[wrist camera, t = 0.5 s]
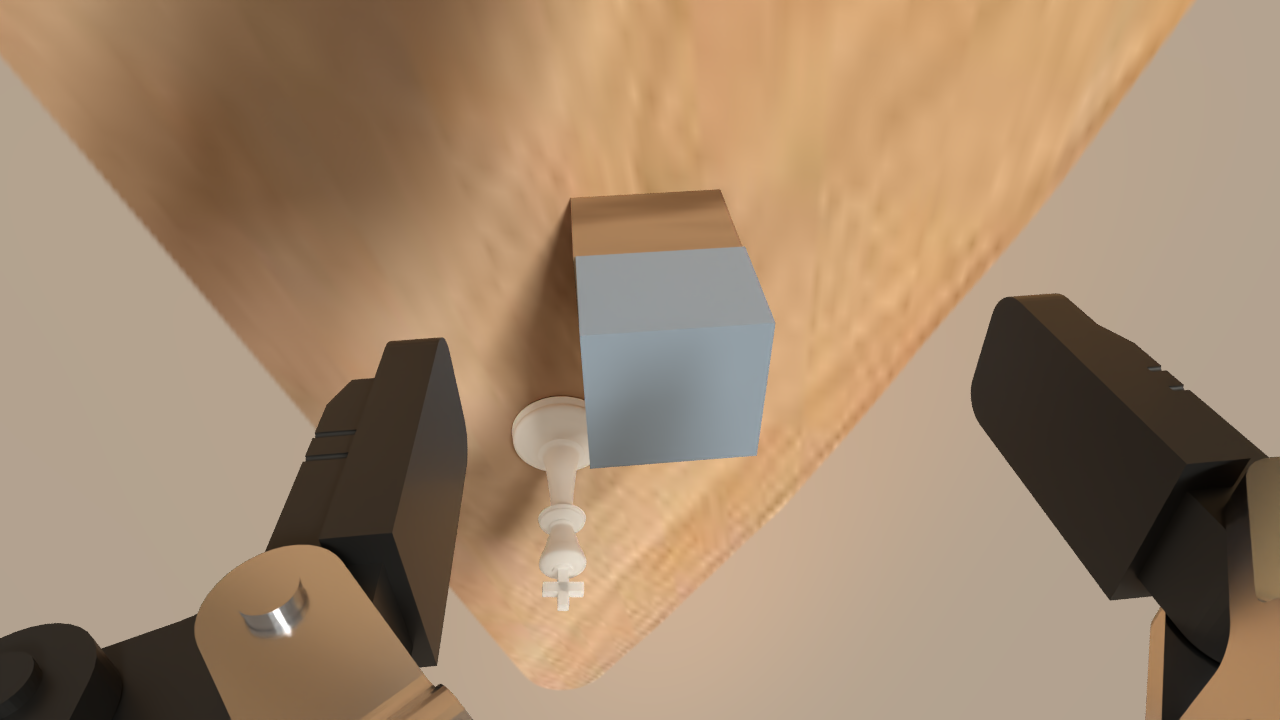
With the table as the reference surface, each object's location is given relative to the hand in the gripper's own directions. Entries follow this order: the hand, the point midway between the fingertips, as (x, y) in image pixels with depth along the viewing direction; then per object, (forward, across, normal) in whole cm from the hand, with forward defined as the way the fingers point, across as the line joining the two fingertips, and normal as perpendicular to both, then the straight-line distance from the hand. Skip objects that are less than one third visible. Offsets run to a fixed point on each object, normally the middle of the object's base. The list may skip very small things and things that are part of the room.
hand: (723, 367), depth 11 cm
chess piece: (+20, +4, +18) cm, 27 cm away
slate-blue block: (+14, -1, +8) cm, 17 cm away
